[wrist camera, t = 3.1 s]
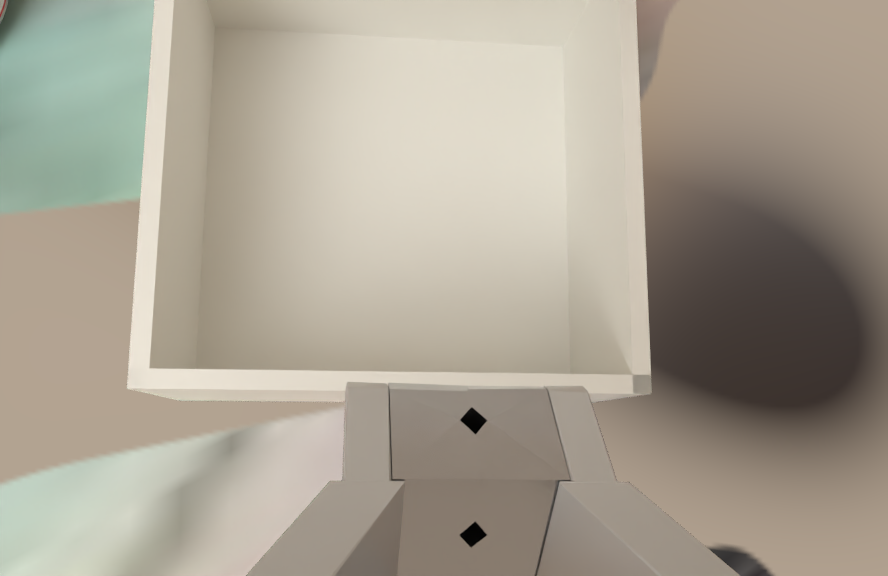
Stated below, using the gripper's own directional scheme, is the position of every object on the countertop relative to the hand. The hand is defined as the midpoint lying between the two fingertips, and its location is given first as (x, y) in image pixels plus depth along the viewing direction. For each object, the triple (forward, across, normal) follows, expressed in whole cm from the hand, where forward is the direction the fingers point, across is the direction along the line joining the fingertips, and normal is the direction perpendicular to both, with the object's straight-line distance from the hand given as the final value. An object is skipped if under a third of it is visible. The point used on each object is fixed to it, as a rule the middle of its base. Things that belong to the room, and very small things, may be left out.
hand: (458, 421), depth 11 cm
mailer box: (+23, 0, +10) cm, 25 cm away
